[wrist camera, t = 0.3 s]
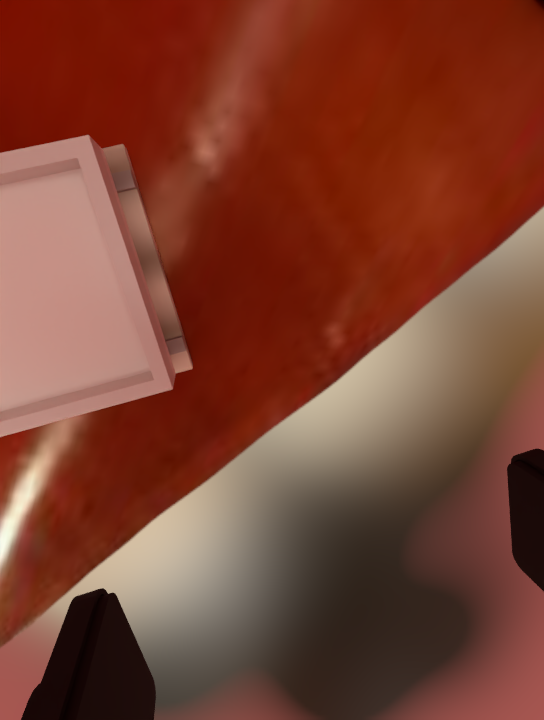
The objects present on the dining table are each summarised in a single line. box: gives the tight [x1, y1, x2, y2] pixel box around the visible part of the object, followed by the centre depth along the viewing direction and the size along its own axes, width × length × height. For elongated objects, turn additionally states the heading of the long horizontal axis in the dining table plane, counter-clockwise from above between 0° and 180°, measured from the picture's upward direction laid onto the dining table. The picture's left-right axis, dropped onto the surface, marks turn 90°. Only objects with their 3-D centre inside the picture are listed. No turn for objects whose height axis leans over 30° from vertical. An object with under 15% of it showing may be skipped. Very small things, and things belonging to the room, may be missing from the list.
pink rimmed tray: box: [0, 135, 176, 437], centre depth 27 cm, size 16×16×6 cm
